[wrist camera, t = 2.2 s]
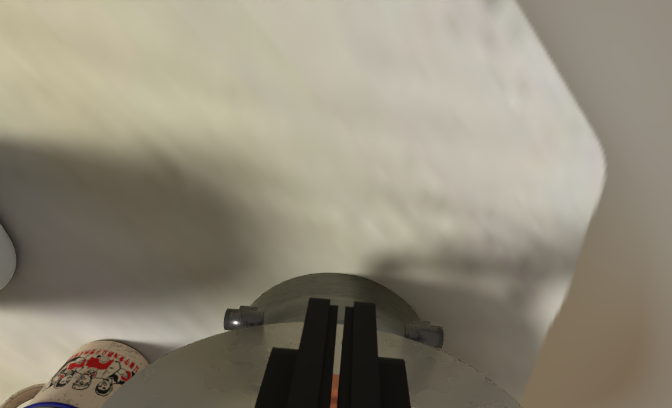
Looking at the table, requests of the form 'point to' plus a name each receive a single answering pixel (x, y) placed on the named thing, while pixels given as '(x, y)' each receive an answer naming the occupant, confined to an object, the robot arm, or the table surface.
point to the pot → (343, 290)
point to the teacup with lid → (84, 378)
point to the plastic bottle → (6, 258)
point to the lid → (257, 342)
